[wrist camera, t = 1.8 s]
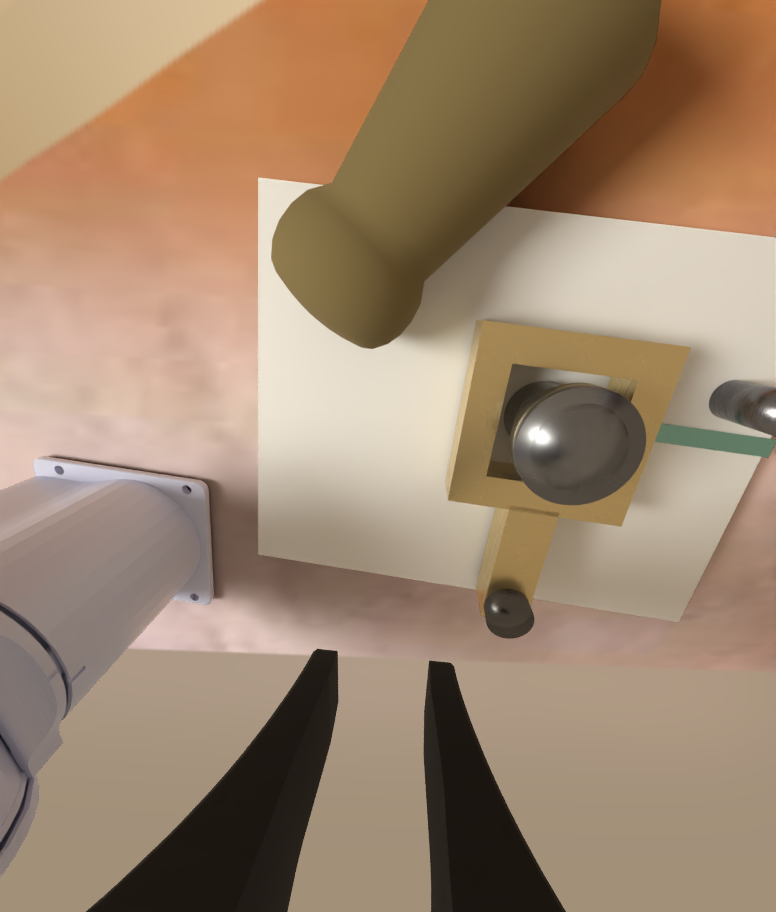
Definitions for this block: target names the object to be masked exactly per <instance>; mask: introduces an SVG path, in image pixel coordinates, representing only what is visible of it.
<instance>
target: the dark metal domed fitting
mask: <svg viewBox="0 0 776 912" xmlns="http://www.w3.org/2000/svg"><path fill="white" fill-rule="evenodd" d="M709 409H710V411H711V413H712V414H713V415H714V416H716V417H718V418H721V419H724V420H727V421H730V422H733V423H736V424H739V425H742V426H745V427H748V428H751V429H754V430H757V431H760V432H763V433H766V434H769V435H772V436H775V437H776V387H773V386H768V385H763V384H758V383H752V382H747V381H742V380H730V381H727V382H725V383H723V384H721V385H720V386H718V387H717V388H716V389H715V390H714V391H713V393H712V395H711V397H710V399H709ZM504 425H505V429H506V431H507V433H508V435H509V436H510V439H509V450H510V456H511V460H512V463H513V465H514V467H515V469H516V471H517V472H518V474H519V476H520V477H521V479H522V480H523V482H524V483H525V485H526V486H527V487H528V488H529V489H530V490H531V491H532V492H533V493H534V494H536V495H537V496H539V497H541V498H543V499H545V500H547V501H550V502H552V503H556V504H561V505H582V504H588V503H592V502H595V501H598V500H601V499H603V498H605V497H607V496H609V495H611V494H613V493H614V492H616V491H617V490H618V489H620V488H621V487H622V486H624V485H625V484H626V483H627V482H628V481H629V480H630V478H631V477H632V476H633V475H634V473H635V472H636V470H637V469H638V467H639V465H640V463H641V461H642V459H643V455H644V452H645V447H646V430H645V425H644V422H643V419H642V417H641V415H640V413H639V412H638V410H637V409H636V407H635V406H634V405H633V404H632V403H631V402H630V401H629V400H627V399H626V398H625V397H623V396H621V395H620V394H618V393H616V392H613V391H611V390H608V389H606V388H603V387H600V386H597V385H594V384H589V383H580V382H577V383H567V384H561V385H559V384H557V383H554V382H550V381H538V382H533V383H530V384H528V385H525V386H524V387H522V388H520V389H519V390H518V391H517V392H516V393H515V394H514V395H513V396H512V397H511V398H510V400H509V401H508V403H507V406H506V408H505V412H504ZM655 442H660V443H667V444H674V445H681V446H688V447H696V448H703V449H710V450H717V451H724V452H731V453H738V454H745V455H752V456H759V457H767V458H768V457H769V455H770V453H771V451H772V450H773V448H774V446H775V444H776V439H770V438H763V437H755V436H748V435H741V434H734V433H727V432H719V431H712V430H705V429H698V428H691V427H683V426H676V425H669V424H661V426H660V429H659V431H658V434H657V437H656V439H655Z"/></svg>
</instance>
